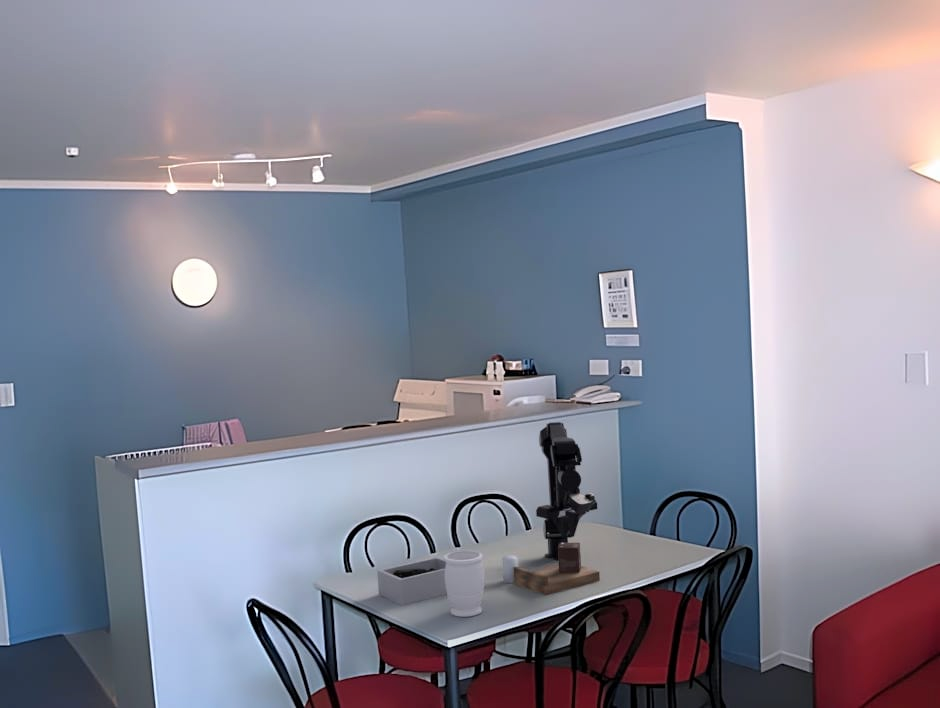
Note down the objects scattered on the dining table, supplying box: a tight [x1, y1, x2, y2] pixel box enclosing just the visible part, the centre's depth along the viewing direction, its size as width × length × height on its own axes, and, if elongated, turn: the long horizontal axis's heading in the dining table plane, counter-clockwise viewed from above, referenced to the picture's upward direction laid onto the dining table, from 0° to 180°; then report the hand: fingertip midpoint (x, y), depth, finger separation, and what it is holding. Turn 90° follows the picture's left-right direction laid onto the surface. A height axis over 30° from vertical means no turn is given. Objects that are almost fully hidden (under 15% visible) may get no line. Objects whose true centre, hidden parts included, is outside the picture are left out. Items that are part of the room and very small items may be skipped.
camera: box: [393, 568, 439, 578], centre depth 254 cm, size 14×7×8 cm, turn 83°
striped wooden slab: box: [513, 563, 601, 596], centre depth 257 cm, size 14×20×5 cm
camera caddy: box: [376, 556, 447, 607], centre depth 254 cm, size 13×20×7 cm, turn 124°
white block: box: [501, 554, 519, 584], centre depth 260 cm, size 4×4×7 cm
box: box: [557, 542, 582, 573], centre depth 260 cm, size 6×6×7 cm
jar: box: [443, 550, 485, 618], centre depth 234 cm, size 11×10×15 cm
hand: (568, 537), depth 259 cm, fingers open, 3 cm apart
